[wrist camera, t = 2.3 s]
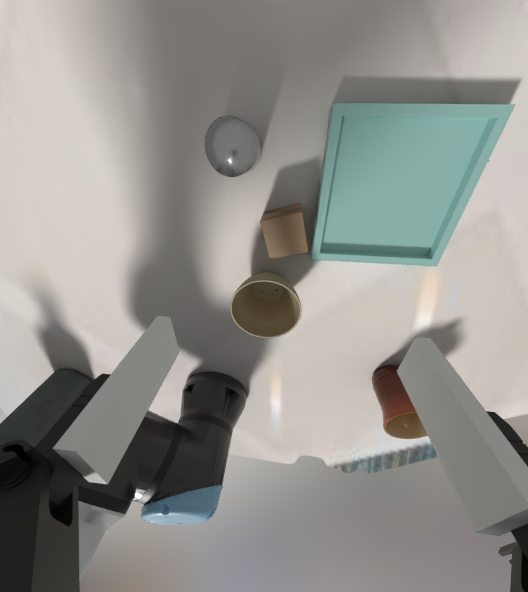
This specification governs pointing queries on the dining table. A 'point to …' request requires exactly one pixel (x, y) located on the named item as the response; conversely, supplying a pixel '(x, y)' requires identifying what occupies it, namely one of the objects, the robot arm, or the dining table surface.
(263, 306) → the flower pot
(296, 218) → the walnut block
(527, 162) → the dining table surface
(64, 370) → the bottle
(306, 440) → the dining table surface
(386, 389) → the mug
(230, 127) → the grey tin
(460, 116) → the tray
